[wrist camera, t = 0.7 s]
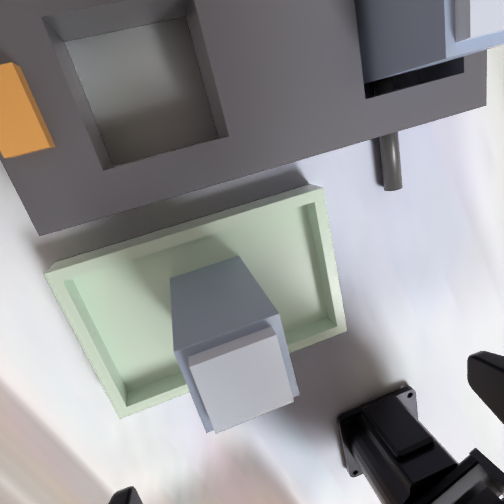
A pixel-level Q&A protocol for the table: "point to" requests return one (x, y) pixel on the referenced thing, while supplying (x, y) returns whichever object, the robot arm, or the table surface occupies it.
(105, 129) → the table surface
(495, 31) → the twin plug
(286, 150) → the strip
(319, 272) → the tray
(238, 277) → the plug
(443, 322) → the table surface
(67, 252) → the table surface
